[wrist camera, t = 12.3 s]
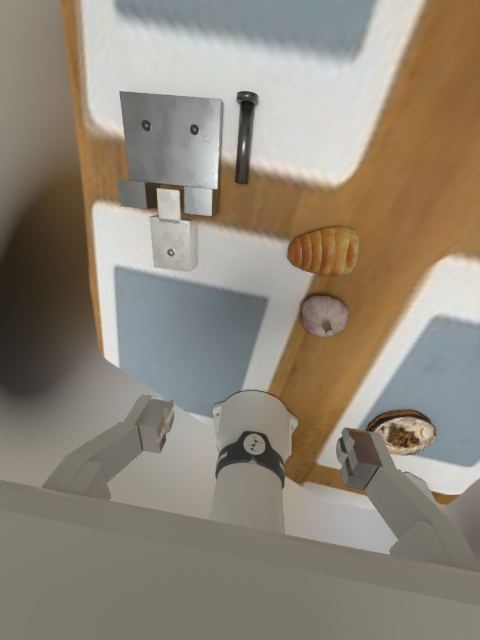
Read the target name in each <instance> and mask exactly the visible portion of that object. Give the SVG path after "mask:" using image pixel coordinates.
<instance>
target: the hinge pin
mask: <svg viewBox="0 0 480 640" xmlns="http://www.w3.org/2000/svg"><path fill="white" fill-rule="evenodd" d="M237 102H238V103H240V117H239V132H238V147H237V161H236V176H235V182H237V183H247V180H248V169H249V158H250V147H251V136H252V125H253V113H254V105H256V104H257V103H258V95H257V94H256V93H253V92H248V91H241V92H238V93H237Z"/></svg>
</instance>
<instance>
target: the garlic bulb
mask: <svg viewBox="0 0 480 640" xmlns="http://www.w3.org/2000/svg"><path fill="white" fill-rule="evenodd" d="M301 311H302V318H303V321H302V324H303V328H304V329H305V330H306V331H307V332H308V333H311V334H314V335H316V336H318V337H320V338H324V337H327V336H333V335H335V334H337V333H339V332H341V331H343V330H344V328H345V327H346V326H347V324H348V321H349V319H348V316H349V308H348V306H347V305H346V304H344V303H342V301H340V300H339V299H334V298H332V297H331V296H327V295H324V296H319V295H314V296H312V297H310V298H309V299H308V300H307V301H305V302H303V304H302V306H301Z"/></svg>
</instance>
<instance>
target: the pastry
mask: <svg viewBox="0 0 480 640" xmlns="http://www.w3.org/2000/svg"><path fill="white" fill-rule="evenodd" d="M358 247H359V236H358V233H357V231H355V230H352V229H348V228H346V227H344V226H338V227H331V228H323V229H320V230H316V231H314V232H310V233H306V234H303V235H301V236H299V237H297V238H296V239H294V240H293V241H292V242H291V243H290V244H289V248H288V259H289V261H290V262H291V263H292V265H293V266H295V267H298V268H301V269H302V270H305V271H308V272H311V273H316V274H318V275H332V276H334V277H336V276H339V275H341V274H344V275H346V274H348V273H349V272H351V271H352V269H353V268H354V266H355V263H356V261H357V257H358V253H359V250H358Z"/></svg>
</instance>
